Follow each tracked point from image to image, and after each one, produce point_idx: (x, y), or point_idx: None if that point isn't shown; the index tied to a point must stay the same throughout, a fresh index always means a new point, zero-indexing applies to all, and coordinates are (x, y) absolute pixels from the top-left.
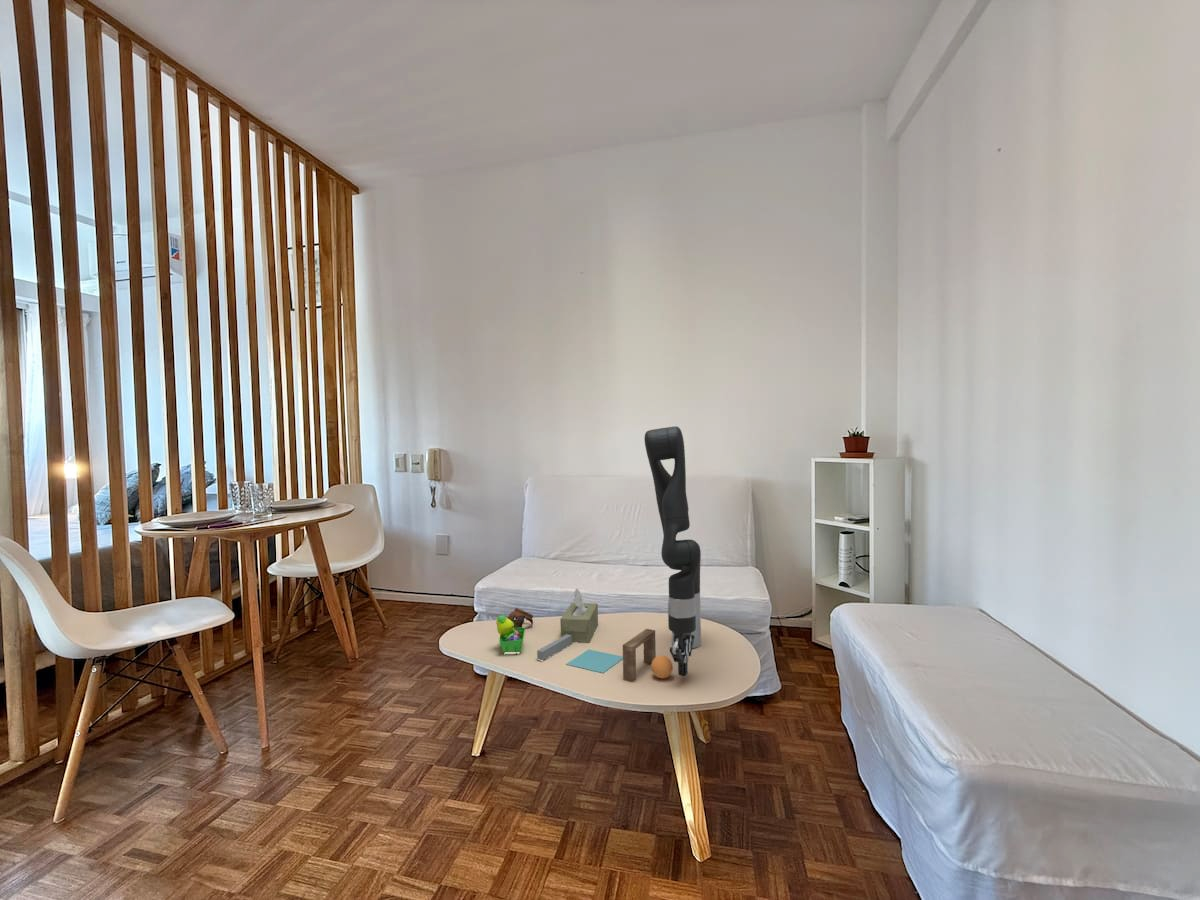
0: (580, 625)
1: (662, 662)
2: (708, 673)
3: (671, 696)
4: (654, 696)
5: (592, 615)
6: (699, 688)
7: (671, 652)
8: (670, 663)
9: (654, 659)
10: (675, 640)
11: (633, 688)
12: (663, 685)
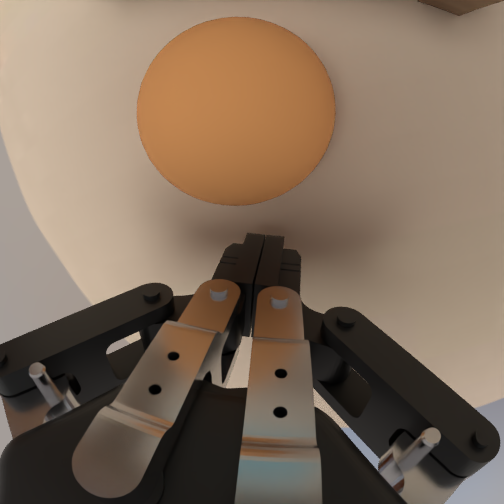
0: None
1: (149, 153)
2: (395, 329)
3: (83, 234)
4: (47, 168)
5: None
6: None
7: (13, 350)
8: (224, 203)
9: (173, 51)
10: (21, 465)
11: (61, 42)
12: None
